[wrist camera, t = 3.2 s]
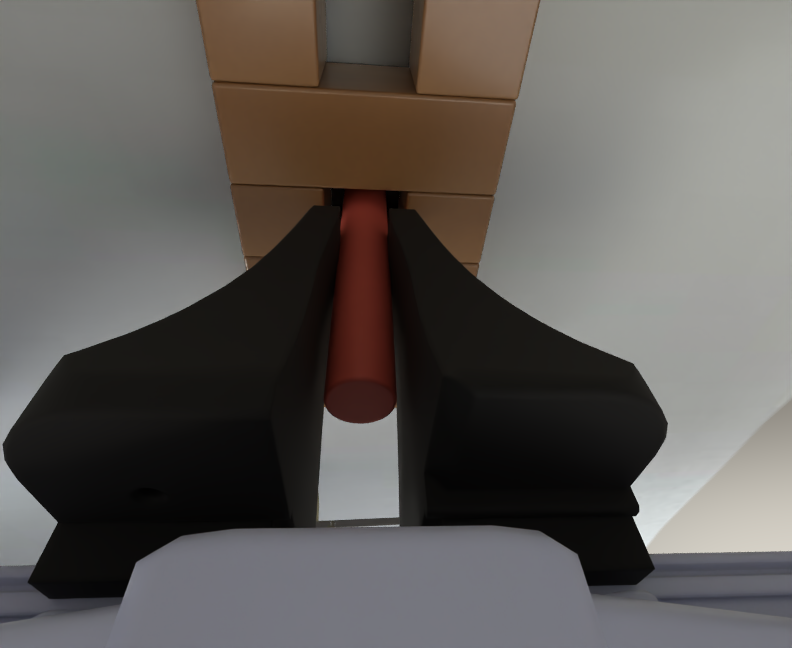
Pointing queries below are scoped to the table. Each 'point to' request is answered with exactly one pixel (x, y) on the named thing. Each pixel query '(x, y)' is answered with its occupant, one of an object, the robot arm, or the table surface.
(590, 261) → the table surface
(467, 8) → the caddy
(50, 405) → the robot arm
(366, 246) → the red cylindrical rod
